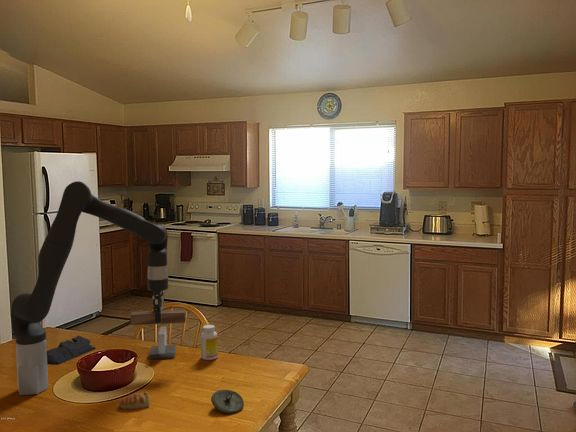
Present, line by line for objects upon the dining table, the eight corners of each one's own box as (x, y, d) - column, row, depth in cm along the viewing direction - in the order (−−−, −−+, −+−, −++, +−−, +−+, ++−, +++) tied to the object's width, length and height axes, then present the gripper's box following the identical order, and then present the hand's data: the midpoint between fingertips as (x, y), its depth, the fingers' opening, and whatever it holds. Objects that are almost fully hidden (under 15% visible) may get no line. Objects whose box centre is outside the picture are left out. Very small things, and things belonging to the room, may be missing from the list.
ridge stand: (174, 357, 197) (173, 333, 196) (148, 359, 195) (148, 334, 195) (176, 349, 207) (175, 326, 206) (151, 350, 205) (151, 327, 204)
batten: (185, 322, 186) (184, 312, 186) (130, 325, 183) (130, 314, 183) (185, 319, 190) (185, 309, 190) (132, 322, 187) (132, 311, 187)
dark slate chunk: (29, 361, 195) (28, 349, 195) (72, 343, 215) (72, 333, 215) (57, 366, 189) (57, 354, 189) (99, 348, 209) (99, 337, 209)
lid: (228, 397, 162) (228, 382, 161) (250, 405, 156) (250, 390, 155) (204, 409, 154) (204, 393, 153) (226, 418, 147) (226, 402, 147)
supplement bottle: (221, 356, 198) (220, 325, 197) (210, 361, 193) (209, 330, 192) (208, 353, 202) (208, 323, 201) (197, 358, 196) (197, 327, 195)
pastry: (120, 413, 151) (119, 401, 151) (118, 404, 158) (117, 392, 157) (151, 407, 155) (150, 395, 155) (148, 398, 161) (147, 387, 161)
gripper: (166, 280, 179) (167, 326, 180) (169, 273, 193) (170, 315, 194) (145, 281, 178) (146, 327, 179) (149, 273, 192) (150, 316, 193)
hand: (158, 321), depth 187 cm, fingers closed on batten, 4 cm apart
